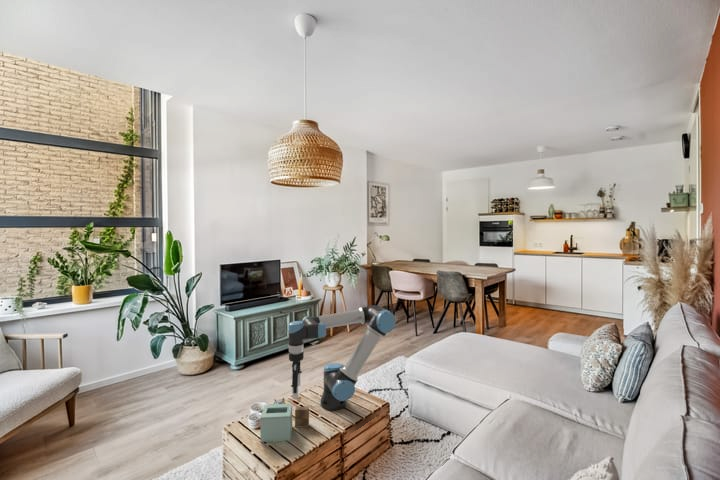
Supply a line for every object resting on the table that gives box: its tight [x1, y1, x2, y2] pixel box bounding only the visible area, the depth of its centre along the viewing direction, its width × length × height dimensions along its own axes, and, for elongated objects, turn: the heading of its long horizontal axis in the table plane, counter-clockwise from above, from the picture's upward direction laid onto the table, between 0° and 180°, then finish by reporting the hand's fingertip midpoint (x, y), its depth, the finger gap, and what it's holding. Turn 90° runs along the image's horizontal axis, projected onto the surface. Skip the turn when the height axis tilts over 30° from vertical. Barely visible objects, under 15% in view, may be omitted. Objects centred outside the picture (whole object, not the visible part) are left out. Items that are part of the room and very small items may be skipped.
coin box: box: [259, 402, 293, 443], centre depth 173 cm, size 14×12×12 cm
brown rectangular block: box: [294, 405, 310, 428], centre depth 181 cm, size 7×3×9 cm, turn 96°
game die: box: [273, 397, 286, 404], centre depth 191 cm, size 9×8×10 cm
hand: (296, 391), depth 181 cm, fingers open, 13 cm apart
